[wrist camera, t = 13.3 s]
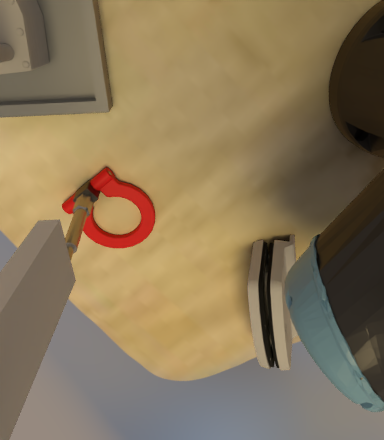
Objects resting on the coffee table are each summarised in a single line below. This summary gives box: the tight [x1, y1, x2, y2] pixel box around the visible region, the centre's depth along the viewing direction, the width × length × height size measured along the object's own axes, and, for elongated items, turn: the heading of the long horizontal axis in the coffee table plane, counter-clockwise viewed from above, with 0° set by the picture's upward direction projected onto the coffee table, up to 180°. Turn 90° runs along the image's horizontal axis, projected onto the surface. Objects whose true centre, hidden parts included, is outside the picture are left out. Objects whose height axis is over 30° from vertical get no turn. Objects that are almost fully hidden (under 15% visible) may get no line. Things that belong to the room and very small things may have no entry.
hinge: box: [248, 235, 298, 370], centre depth 43 cm, size 17×5×10 cm, turn 12°
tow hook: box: [62, 167, 155, 261], centre depth 34 cm, size 8×13×9 cm
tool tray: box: [0, 0, 113, 117], centre depth 28 cm, size 13×15×2 cm
